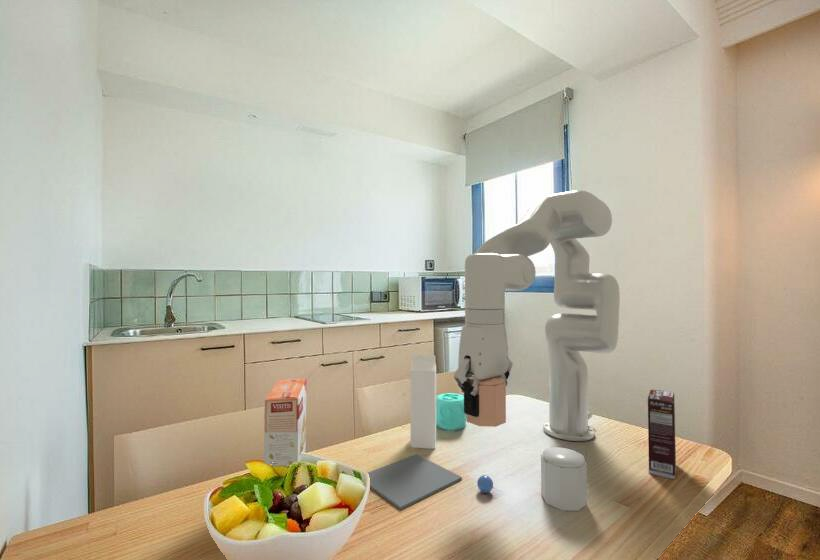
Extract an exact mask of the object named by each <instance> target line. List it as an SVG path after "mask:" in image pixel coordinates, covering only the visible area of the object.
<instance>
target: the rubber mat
mask: <svg viewBox="0 0 820 560" xmlns="http://www.w3.org/2000/svg"><path fill="white" fill-rule="evenodd" d="M367 473H368V474H369V477H370V489H371V490H372V491H374V492H375V493H376V494H378V495H379V496H381V497H382V498H383V499H385V500H386V501H387V502H389V503H390V504H392V505H393V506H394V507H396V508H398V509H399V510H400V511H401V510H403V509H405V508H407V507H409V506H411V505H413V504H415V503H417V502H419V501H421V500H424V499H425V498H428V497H429V496H431V495H434V494H436V493H437V492H439V491H442V490H444V489H445V488H447V487H449V486H452V485H454V484H456V483H458V482H460V481H462V480H463V477H462V476H460V475H459V474H457V473H454V472H453V471H451V470H449V469H447V468H445V467H443V466H441V465H440V464H437V463H435V462H433V461H431V460H429V459H427V458H425V457H423V456H422V455H419V454H418V453H415V454H413V455H410V456H407V457H404V458H401V459H399V460H397V461H394V462H391V463H389V464H387V465H384V466H381V467H379V468H375V469H373V470H372V471H368V472H367Z"/></svg>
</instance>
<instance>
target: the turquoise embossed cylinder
mask: <svg viewBox="0 0 820 560" xmlns="http://www.w3.org/2000/svg"><path fill="white" fill-rule="evenodd" d="M466 424H467V420H466V414H465V413H464V394H463V395H462V394H460V393H456V392H447V393H440V394H438V395H436V427H438V428H439V429H441V430H444V431H450V430H451V432H452V431H453V430H455V431H460V429H461V430H463V429H464V428H465V427H466ZM453 432H454V431H453Z"/></svg>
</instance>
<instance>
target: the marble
mask: <svg viewBox="0 0 820 560" xmlns="http://www.w3.org/2000/svg"><path fill="white" fill-rule="evenodd" d="M476 484H477V487H478V490H479V491H480V492H482V493H484V494H488V493H490V492H492V490H493V488H494V481H493V479H492V477H490V476H489V475H486V474H482V475H480V476H479V478H478V479H477V483H476Z"/></svg>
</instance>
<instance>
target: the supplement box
mask: <svg viewBox="0 0 820 560" xmlns="http://www.w3.org/2000/svg"><path fill="white" fill-rule="evenodd" d="M675 406H676V405H675V392H674V391H665V390H659V389H650V390H649V394H648V396H647V419H648V420H647V423H648V424H647V426H648V427H647V428H648V429H647V431H648V433H647V435H648V438H647V439H648V474H650V475H652V476H653V475H655V476H658V477H662V478H666V479H671V480H676V470H677V469H676V466H677V465H676V464H677V460H676V459H677V458H676V456H677V453H676V451H677V450H676V449H677V448H676V415H675V414H676V412H675V411H676V410H675V408H676V407H675Z"/></svg>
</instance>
